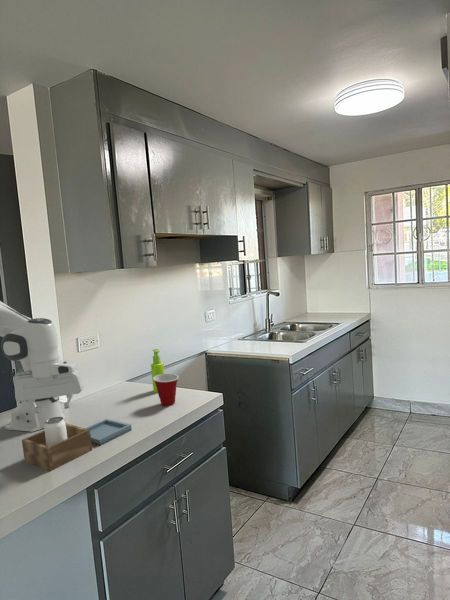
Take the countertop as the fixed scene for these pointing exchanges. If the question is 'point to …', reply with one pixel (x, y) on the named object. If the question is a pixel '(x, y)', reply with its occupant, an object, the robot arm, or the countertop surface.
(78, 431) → the walnut sleeve
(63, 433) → the can
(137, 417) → the countertop surface
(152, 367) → the soap dispenser
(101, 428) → the tray
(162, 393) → the plastic cup
